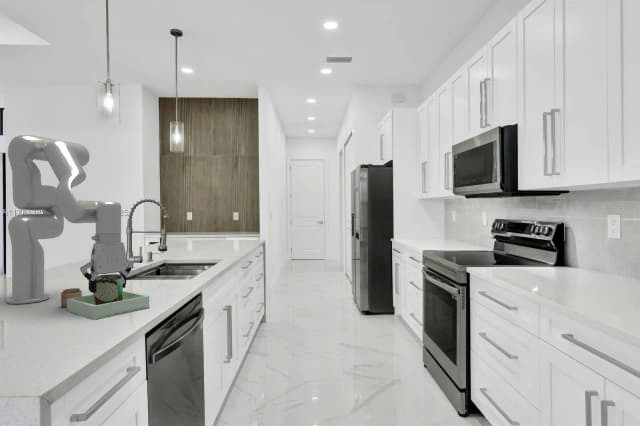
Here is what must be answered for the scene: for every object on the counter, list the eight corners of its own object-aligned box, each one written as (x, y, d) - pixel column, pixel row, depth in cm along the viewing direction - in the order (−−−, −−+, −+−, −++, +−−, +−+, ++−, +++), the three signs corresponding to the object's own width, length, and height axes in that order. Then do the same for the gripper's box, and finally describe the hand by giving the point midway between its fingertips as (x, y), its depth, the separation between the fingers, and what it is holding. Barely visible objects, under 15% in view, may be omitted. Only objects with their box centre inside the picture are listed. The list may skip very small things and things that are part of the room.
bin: (66, 311, 131) (66, 298, 130) (120, 300, 145) (120, 289, 145) (94, 319, 120) (94, 306, 120) (149, 307, 135) (149, 296, 135)
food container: (135, 303, 136) (132, 274, 135) (121, 309, 130) (118, 279, 129) (106, 300, 140) (104, 272, 139) (92, 306, 134) (89, 277, 133)
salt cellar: (57, 306, 136) (57, 290, 136) (76, 303, 141) (76, 287, 141) (66, 309, 133) (66, 292, 133) (84, 305, 138) (84, 289, 138)
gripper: (86, 240, 123) (86, 295, 124) (139, 238, 138) (138, 287, 138) (75, 239, 128) (74, 292, 128) (127, 236, 142) (126, 284, 142)
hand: (107, 289), depth 133 cm, fingers open, 9 cm apart
